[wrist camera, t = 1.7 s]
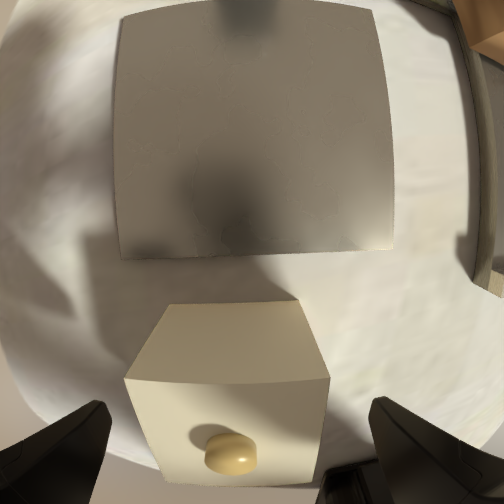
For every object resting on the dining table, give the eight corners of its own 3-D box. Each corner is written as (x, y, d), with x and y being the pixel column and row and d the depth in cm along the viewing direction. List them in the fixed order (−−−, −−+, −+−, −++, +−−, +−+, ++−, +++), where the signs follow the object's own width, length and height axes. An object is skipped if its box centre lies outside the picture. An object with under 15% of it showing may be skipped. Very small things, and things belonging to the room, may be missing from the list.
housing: (294, 396, 12) (313, 495, 7) (187, 398, 12) (163, 494, 7) (298, 299, 11) (337, 392, 6) (170, 303, 11) (115, 392, 6)
